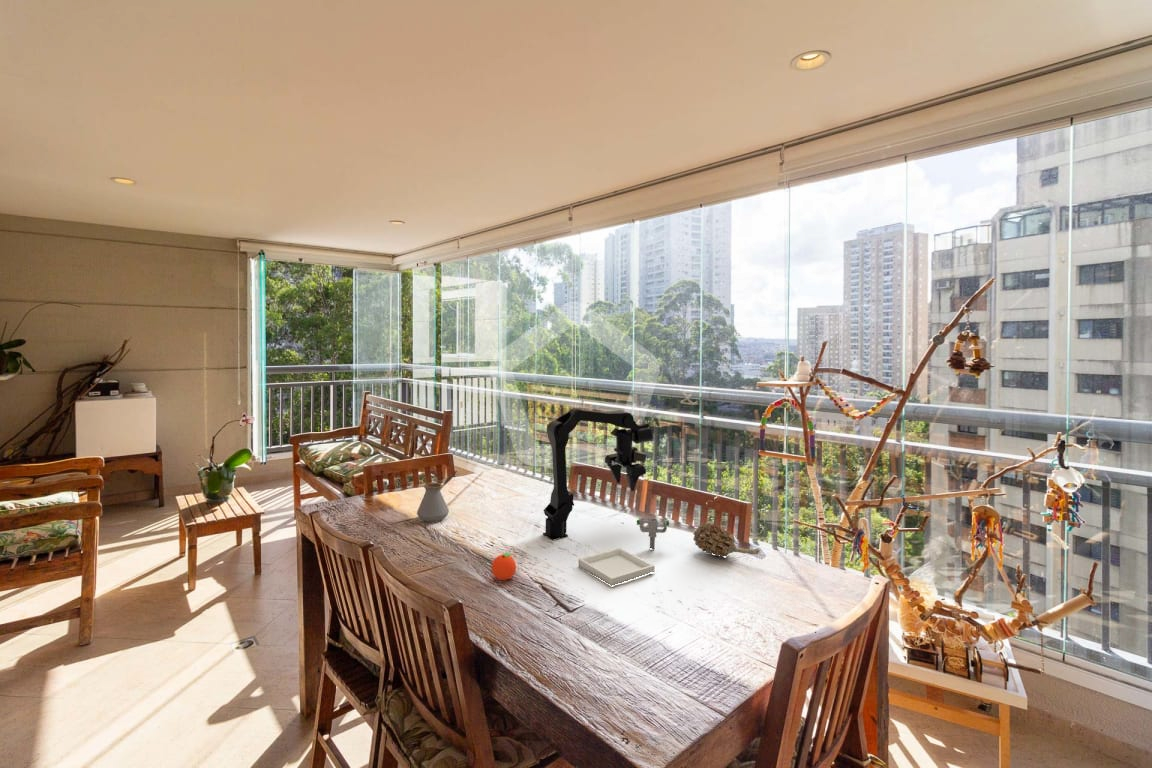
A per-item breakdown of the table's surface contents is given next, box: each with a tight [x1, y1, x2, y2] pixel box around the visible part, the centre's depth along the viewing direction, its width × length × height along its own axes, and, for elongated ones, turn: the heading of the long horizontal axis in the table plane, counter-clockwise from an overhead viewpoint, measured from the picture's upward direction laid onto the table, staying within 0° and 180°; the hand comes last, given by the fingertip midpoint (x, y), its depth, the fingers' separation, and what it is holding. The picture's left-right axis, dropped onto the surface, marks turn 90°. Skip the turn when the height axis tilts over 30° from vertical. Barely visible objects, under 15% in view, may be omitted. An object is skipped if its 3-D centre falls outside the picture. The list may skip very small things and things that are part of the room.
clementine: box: [491, 553, 517, 581], centre depth 159 cm, size 8×7×7 cm
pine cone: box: [693, 522, 761, 557], centre depth 176 cm, size 22×10×10 cm, turn 56°
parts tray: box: [577, 547, 655, 586], centre depth 166 cm, size 16×16×2 cm
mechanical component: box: [636, 517, 670, 550], centre depth 182 cm, size 3×10×10 cm, turn 89°
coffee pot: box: [416, 470, 460, 523], centre depth 211 cm, size 21×12×15 cm, turn 157°
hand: (625, 486), depth 204 cm, fingers open, 9 cm apart
